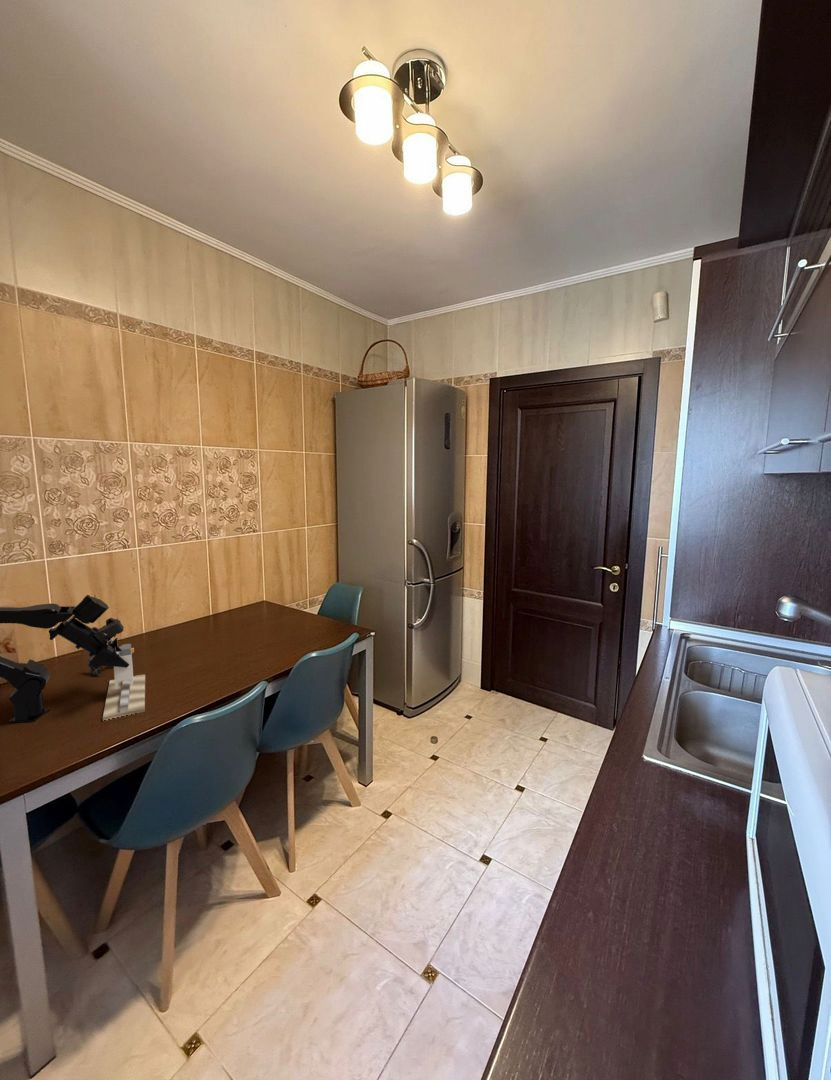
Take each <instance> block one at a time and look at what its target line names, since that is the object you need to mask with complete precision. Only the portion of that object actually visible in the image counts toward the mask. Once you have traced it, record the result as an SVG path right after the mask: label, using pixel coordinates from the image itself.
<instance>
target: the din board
mask: <svg viewBox="0 0 831 1080" xmlns="http://www.w3.org/2000/svg"><path fill="white" fill-rule="evenodd" d="M145 711H146V673H144V674H138V675H137V674H136V675H133V686H131V685H130V679H128V680H123V681H119V685H118V688H117V689H115V679H110V680H109V684H108V689H107V693H106V699H105V704H104V709H103V715H102V721H103V722H105V721H104V720H106V721H109V720H108V719H110V720H113V719H112V718H115V719H118V718H117V717H119V718H122V717H121V716H124V717H127V716H126V715H128V716H131V714H132V715H136V714H135V713H137V714H142V713H145Z"/></svg>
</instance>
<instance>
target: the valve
mask: <svg viewBox="0 0 831 1080" xmlns="http://www.w3.org/2000/svg"><path fill="white" fill-rule="evenodd" d="M119 647H120V648H121V650H122V645H120V646H119ZM87 661H88V662H89V661H90V658H89V659H88V660H87ZM86 665H87V667H88V668H90V669H89V670H88V671H89V673H90V674H91V673H92V676H93V675H94V676H93V677H97V676H100V675H102V671H101V670H102V669H103V667H104V666H99V667H98V668H97V669H96V670H95V669H94V668H92V667H90V665H89V663H87V664H86Z"/></svg>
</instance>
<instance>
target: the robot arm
mask: <svg viewBox="0 0 831 1080" xmlns="http://www.w3.org/2000/svg"><path fill="white" fill-rule="evenodd" d="M109 608H110V607H109V606H108V604H107V603H106V602H105V601H103V600H101V599H100V598H97V597H95V596H91V595H90V594H86V595H85V596H84V597H83V599H82V600H80V602H78V604H77V605H76V606H74V605H72V606H71V605H70V606H60V605H59V604H57V603H54V602H53V603H52V602H51V603H44V604H43V603H42V604H35V605H34V604H33V605H31V606H24V607H14V606H13V607H10V606H9V607H8V606H7V607H6V606H5V607H4V606H3V607H2V606H0V624H19V625H25V626H27V627H31V628H37V629H43V630H44V629H45V630H46V629H48V635H49V640H50V641H52V640H54V639H55V638H56V637H57V636H60V637H62V638H63V639H64V640H67V641H68V642H70V643H72V644H74V645H75V649H77V650H80V649H82V650H84V651H85V652H88V656H89V659H90V661H88V664H89V665H90V667H92V668H94V670H95V671H97V668H98V667H99V666H103V667H114V666H115V667H125V668H127V667H128V666H129V664H128V663H127V662H126V661H125V660H124V659H123V658H121V657H120V656H119V655H118V654H117V653H116V652H119V651H122V650H121V648H120V647H121V646H119V644H118V637H116V636H117V635H119V634H122V633H123V632H124V629H125V627H124V626H123V624H122V622H121V620H120V619H117V618H113V617H109V618H107V619H106V620H105V624H104V625H103V626H102V627H100V628H98V627H96V626H92V627H90V626H89V625H88V624H94V623H95V622H96V621H98V619H99V618H101V616H102V615H103V614H105V612H106V611H108V610H109ZM113 638H114V639H113ZM112 639H113V640H112ZM90 667H89V668H90ZM50 675H51V673H50V670H49V668H47V667H46V664H44V663H38V662H37V661H35V660H33V659H28V661H27V662H26V663H25V662H24V663H23V662H16V661H13V660H11V659H8V658H5V657H3V656H0V678H2V679H4V680H6V681H7V682H8V684H9V685H11V687H13V688H14V690H13V691H12V694H11V695H10V696H9V700H10V702H11V703H12V705H13V712H14V713H13V714H14V717H12V718H10V719H9V720H8V721H9V723H33V722H35V721H37V720H39V718H41V717H42V716H44V715H45V714H46V713H48V712H49V711H50V707H45V702H44V695H43V690H44V689H45V688H46V685H47V684H48V682H49V680H50Z"/></svg>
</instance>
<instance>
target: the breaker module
mask: <svg viewBox="0 0 831 1080" xmlns="http://www.w3.org/2000/svg"><path fill="white" fill-rule="evenodd" d="M121 646H122V651H119V652H116V653H117V654H118V655H119V656H120V657H121V658H123V659H124V660H125V661H126V662H127V663H128V664H129V666H128V667H127V668H125V667H115V666H113V675H114V676H113V677H114V680H115V689H117V688H118V685H119V681H123V680H128V679H130V685H131V686H133V676H134V667H133V656H132V655H133V653H135V647H132V643H125V644H121Z"/></svg>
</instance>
